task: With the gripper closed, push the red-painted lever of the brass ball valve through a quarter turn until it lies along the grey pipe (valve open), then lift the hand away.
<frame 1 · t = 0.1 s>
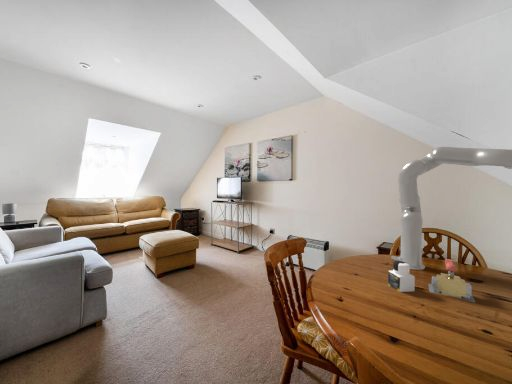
medicine bottle: (400, 289, 95), on the table
mat: (450, 293, 90), on the table
lever: (450, 265, 91), point 12 cm above the table, hinge at 0.0°
valve: (450, 293, 89), resting on mat
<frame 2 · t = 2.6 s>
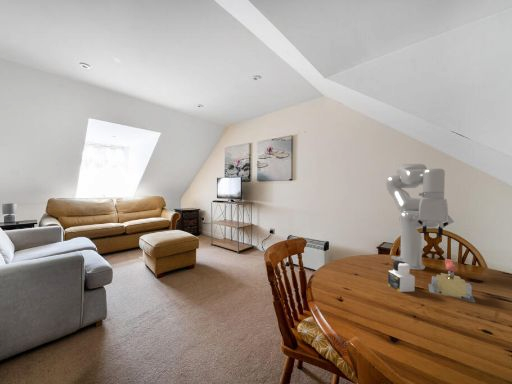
hand: (432, 235, 97), 23 cm above the table, fingers open, 4 cm apart
nothing on the table moved.
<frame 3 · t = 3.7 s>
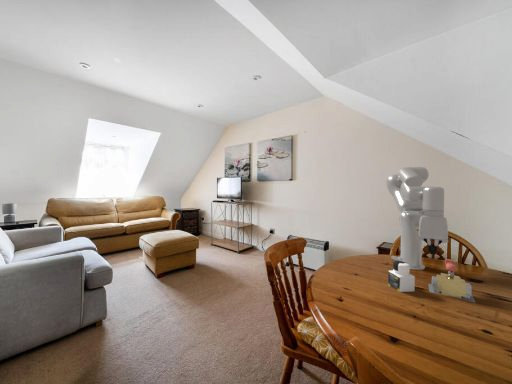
hand: (432, 253, 97), 15 cm above the table, fingers closed
nothing on the table moved.
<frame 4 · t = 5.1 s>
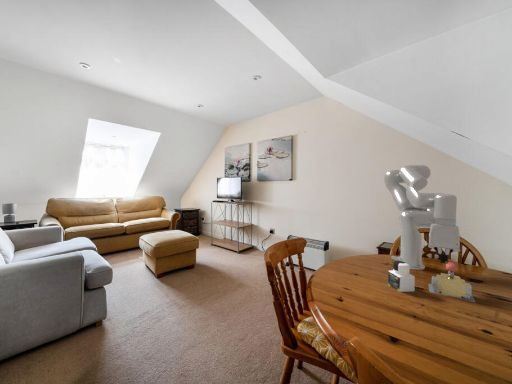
hand: (442, 262, 95), 12 cm above the table, fingers closed
lever: (451, 265, 91), point 12 cm above the table, hinge at -5.6°, touching gripper
everything else where it was.
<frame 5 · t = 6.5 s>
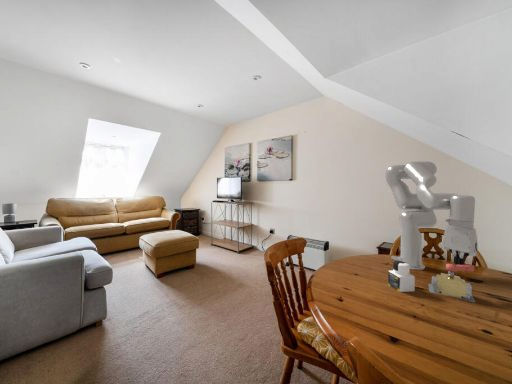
hand: (458, 265, 91), 11 cm above the table, fingers closed
lever: (459, 267, 89), point 12 cm above the table, hinge at -56.3°, touching gripper
everything else where it was.
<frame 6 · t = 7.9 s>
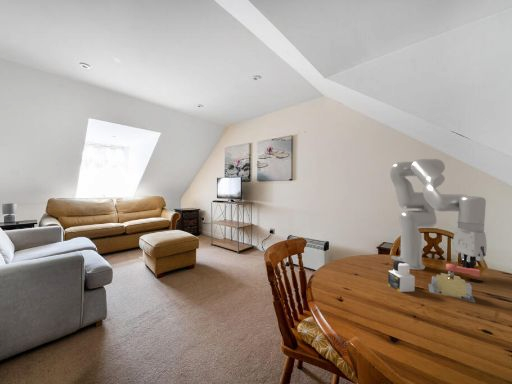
hand: (468, 270, 87), 11 cm above the table, fingers closed
lever: (462, 269, 86), point 12 cm above the table, hinge at -98.7°, touching gripper
everything else where it was.
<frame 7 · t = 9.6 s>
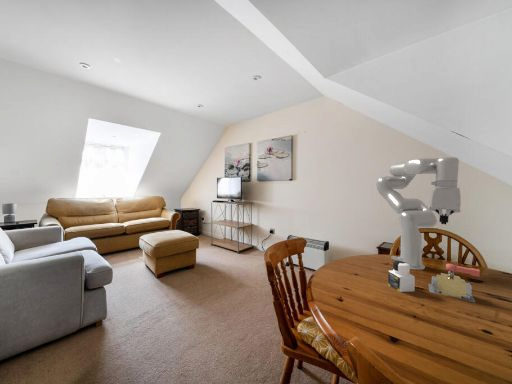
hand: (443, 223, 99), 28 cm above the table, fingers closed
lever: (462, 269, 86), point 12 cm above the table, hinge at -97.6°
everything else where it was.
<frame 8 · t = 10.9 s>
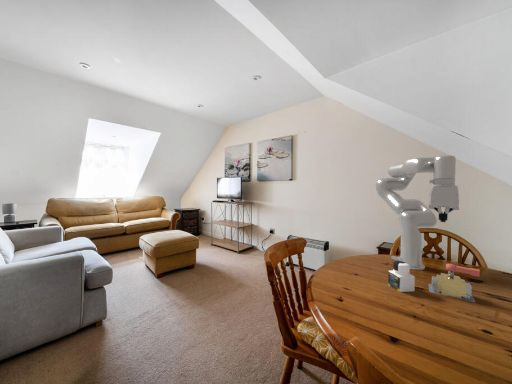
hand: (442, 221, 99), 29 cm above the table, fingers closed
nothing on the table moved.
at the end: lever at -98° (first picture: +0°); medicine bottle moved 0.2 cm from its start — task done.
